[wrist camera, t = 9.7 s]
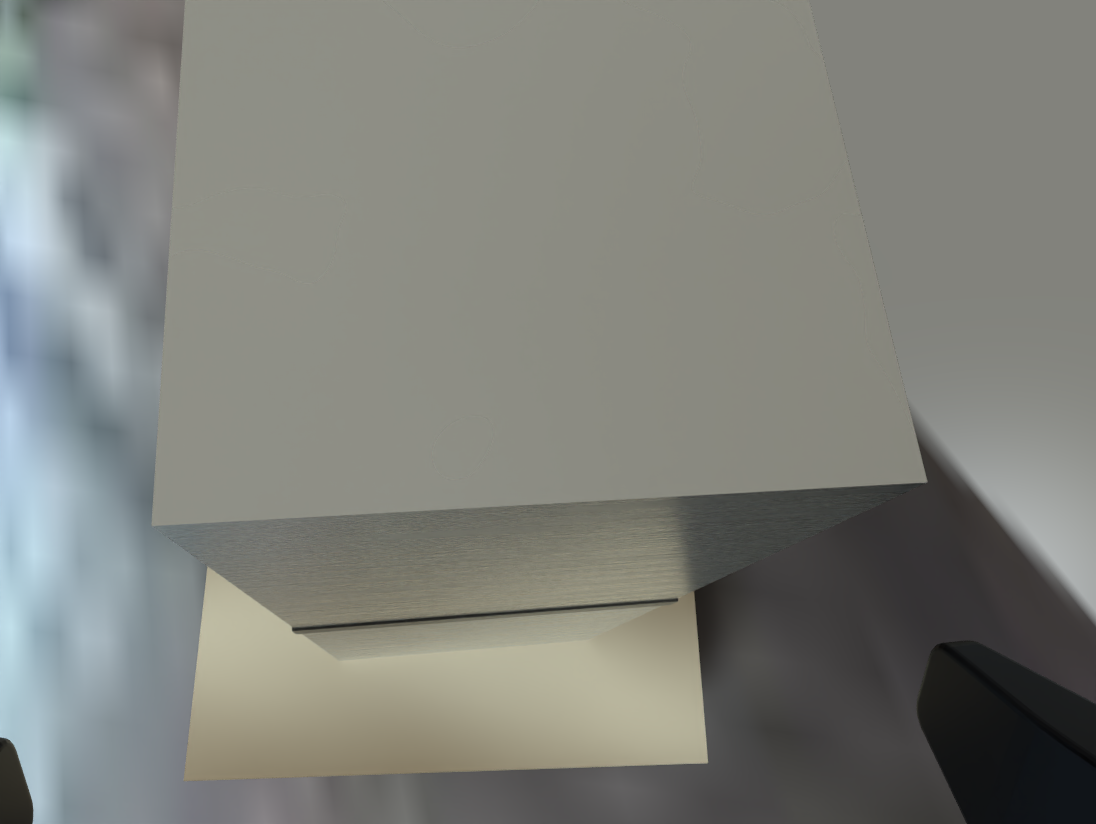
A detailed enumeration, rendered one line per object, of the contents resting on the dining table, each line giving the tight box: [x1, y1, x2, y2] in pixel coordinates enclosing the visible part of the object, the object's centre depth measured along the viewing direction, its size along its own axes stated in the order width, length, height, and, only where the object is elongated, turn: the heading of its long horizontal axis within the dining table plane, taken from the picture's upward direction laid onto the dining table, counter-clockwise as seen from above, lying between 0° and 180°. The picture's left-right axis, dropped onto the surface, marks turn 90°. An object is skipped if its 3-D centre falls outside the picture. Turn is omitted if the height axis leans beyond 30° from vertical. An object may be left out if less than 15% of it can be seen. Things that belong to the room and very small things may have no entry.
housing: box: [152, 0, 927, 661], centre depth 12 cm, size 6×5×12 cm
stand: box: [184, 567, 708, 781], centre depth 19 cm, size 10×10×3 cm
